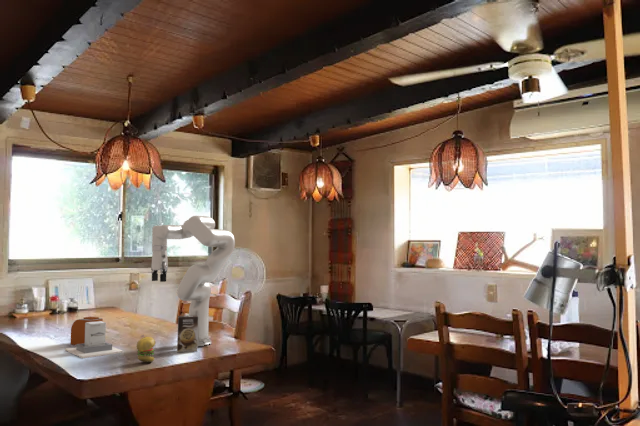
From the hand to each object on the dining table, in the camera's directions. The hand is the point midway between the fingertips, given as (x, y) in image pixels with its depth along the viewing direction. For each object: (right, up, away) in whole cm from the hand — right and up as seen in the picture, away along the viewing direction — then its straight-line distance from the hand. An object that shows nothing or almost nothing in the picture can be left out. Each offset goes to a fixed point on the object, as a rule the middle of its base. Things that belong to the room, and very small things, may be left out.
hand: (158, 281), depth 272 cm
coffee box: (+24, -28, -33) cm, 50 cm away
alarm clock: (-31, -30, -16) cm, 46 cm away
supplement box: (-19, -28, -34) cm, 48 cm away
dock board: (-20, -28, -34) cm, 48 cm away
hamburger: (+13, -27, -58) cm, 65 cm away
